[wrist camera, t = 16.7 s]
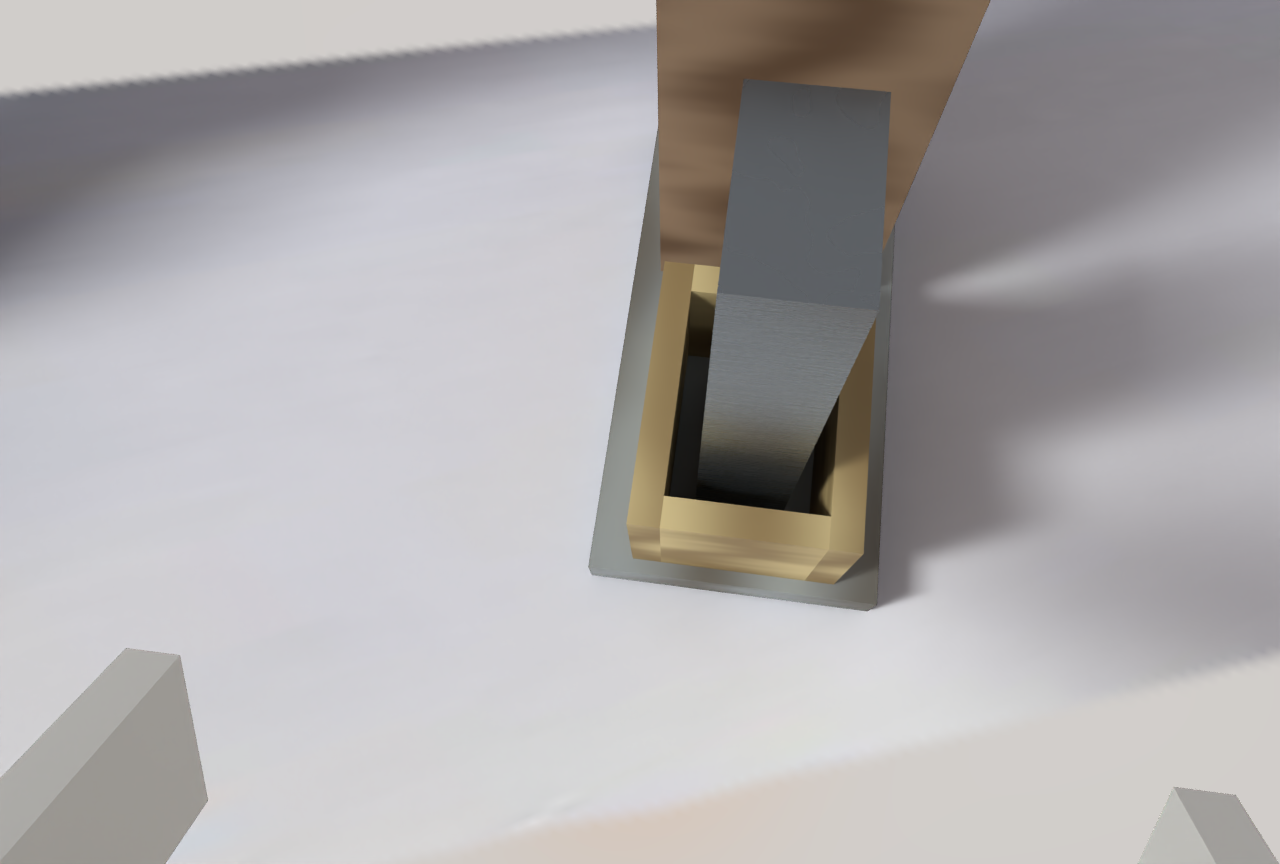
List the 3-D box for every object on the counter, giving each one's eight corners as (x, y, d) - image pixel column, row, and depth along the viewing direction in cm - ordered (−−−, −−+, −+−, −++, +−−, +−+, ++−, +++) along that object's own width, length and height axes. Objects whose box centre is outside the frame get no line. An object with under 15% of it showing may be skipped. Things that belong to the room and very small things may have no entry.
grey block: (693, 511, 32) (717, 292, 17) (709, 383, 33) (743, 78, 18) (778, 522, 31) (878, 310, 16) (789, 392, 33) (891, 92, 18)
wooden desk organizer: (591, 574, 32) (427, 195, 10) (661, 127, 39) (653, -685, 17) (867, 611, 32) (1326, 285, 10) (891, 149, 38) (1193, -672, 16)
